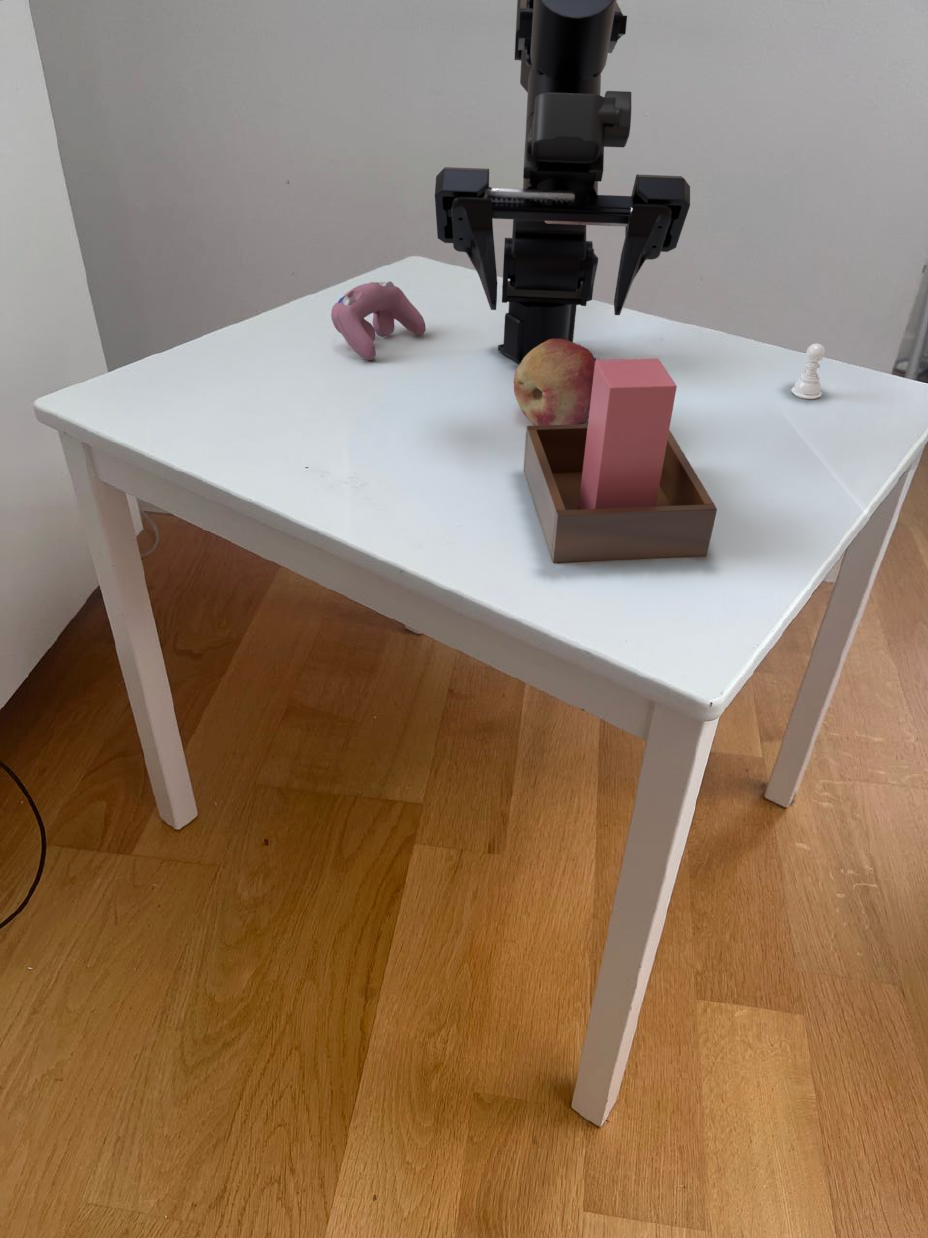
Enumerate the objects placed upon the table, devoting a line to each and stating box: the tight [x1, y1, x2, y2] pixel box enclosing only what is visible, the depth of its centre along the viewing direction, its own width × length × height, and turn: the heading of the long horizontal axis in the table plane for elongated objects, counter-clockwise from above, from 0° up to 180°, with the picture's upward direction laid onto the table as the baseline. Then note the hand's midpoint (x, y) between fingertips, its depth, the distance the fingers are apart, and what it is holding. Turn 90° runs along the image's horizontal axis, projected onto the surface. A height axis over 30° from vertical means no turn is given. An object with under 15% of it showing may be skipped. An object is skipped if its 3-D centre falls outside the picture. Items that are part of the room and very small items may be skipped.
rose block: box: [579, 357, 678, 509], centre depth 68 cm, size 5×5×12 cm
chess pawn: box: [791, 342, 826, 400], centre depth 91 cm, size 3×3×5 cm
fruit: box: [513, 339, 597, 426], centre depth 83 cm, size 8×8×8 cm
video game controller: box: [330, 281, 427, 361], centre depth 98 cm, size 10×5×7 cm, turn 144°
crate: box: [522, 423, 718, 564], centre depth 72 cm, size 13×11×5 cm
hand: (555, 309), depth 70 cm, fingers open, 9 cm apart
